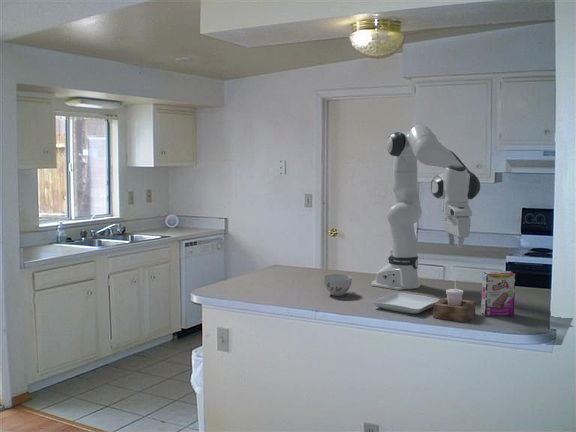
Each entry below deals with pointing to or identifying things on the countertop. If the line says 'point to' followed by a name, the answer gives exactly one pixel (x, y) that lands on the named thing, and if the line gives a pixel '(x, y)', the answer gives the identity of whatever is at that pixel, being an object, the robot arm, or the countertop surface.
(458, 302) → the smoothie
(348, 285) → the teacup
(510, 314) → the candy bar box
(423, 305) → the salad plate
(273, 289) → the countertop surface
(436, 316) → the walnut holder
